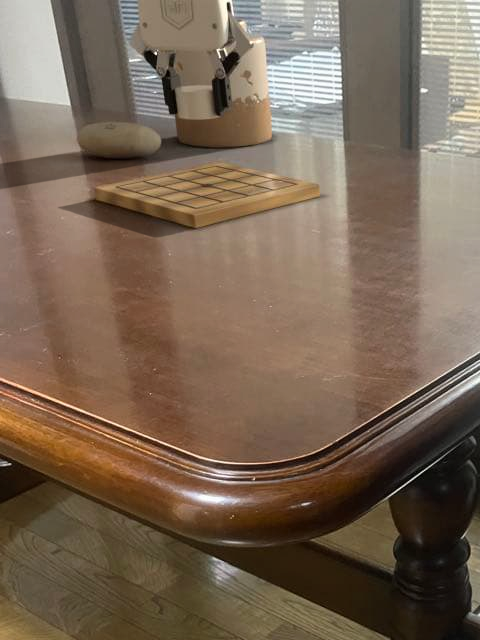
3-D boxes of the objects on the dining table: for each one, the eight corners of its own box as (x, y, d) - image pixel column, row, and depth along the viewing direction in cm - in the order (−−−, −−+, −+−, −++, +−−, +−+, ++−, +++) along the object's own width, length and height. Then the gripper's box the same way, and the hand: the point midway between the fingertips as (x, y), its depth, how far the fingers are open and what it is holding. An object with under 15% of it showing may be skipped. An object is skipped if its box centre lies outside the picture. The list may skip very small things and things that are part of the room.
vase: (161, 137, 145) (145, 19, 135) (242, 127, 152) (232, 15, 143) (206, 152, 135) (191, 26, 125) (290, 140, 143) (282, 21, 133)
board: (95, 199, 110) (92, 186, 109) (219, 173, 123) (218, 161, 122) (195, 228, 100) (193, 214, 99) (320, 196, 112) (319, 183, 111)
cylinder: (169, 116, 106) (165, 88, 104) (203, 110, 109) (200, 84, 107) (196, 121, 103) (193, 93, 101) (230, 115, 106) (227, 87, 104)
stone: (157, 142, 127) (71, 117, 124) (154, 181, 132) (71, 157, 129) (165, 122, 130) (82, 97, 127) (162, 160, 135) (81, 137, 132)
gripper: (88, -70, 94) (120, 116, 104) (240, -70, 91) (257, 121, 101) (119, -70, 100) (146, 106, 110) (263, -70, 97) (277, 110, 107)
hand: (199, 111), depth 106 cm, fingers closed on cylinder, 5 cm apart
